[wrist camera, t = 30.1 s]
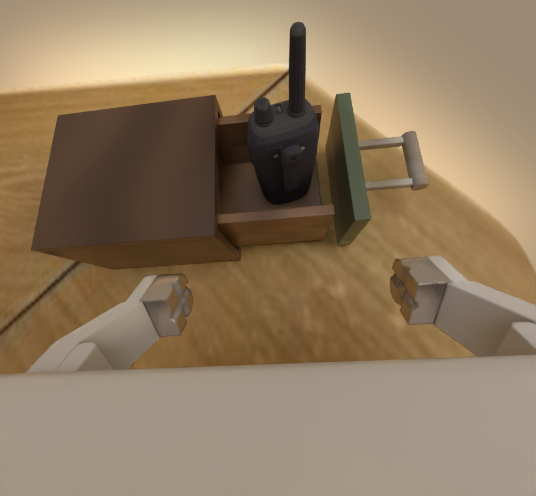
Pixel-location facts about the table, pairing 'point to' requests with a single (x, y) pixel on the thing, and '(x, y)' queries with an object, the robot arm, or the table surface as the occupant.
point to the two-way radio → (285, 133)
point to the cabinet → (135, 187)
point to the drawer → (309, 206)
